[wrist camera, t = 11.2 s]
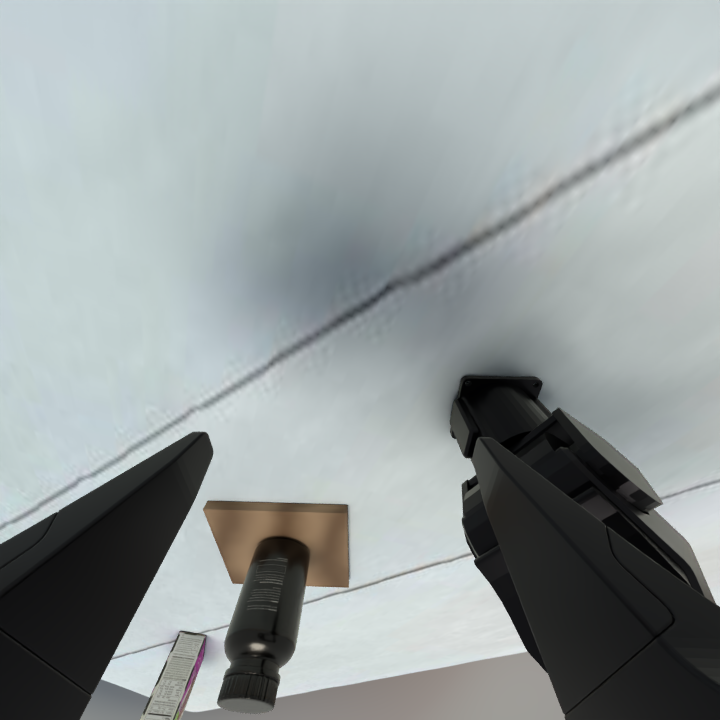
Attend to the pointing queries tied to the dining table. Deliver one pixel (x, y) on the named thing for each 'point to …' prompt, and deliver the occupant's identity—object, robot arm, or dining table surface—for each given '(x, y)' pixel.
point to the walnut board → (283, 536)
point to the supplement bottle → (264, 625)
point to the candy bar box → (176, 678)
